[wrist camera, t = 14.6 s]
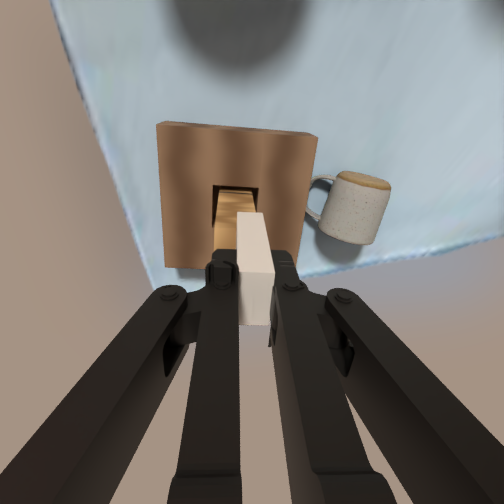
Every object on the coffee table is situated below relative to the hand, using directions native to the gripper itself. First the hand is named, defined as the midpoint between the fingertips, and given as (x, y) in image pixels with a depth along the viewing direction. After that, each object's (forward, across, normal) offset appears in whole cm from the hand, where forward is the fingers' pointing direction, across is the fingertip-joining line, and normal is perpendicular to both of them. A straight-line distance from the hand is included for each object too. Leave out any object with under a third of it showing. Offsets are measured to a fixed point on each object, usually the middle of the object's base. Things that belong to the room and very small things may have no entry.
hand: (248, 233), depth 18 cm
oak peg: (+23, -1, -6) cm, 24 cm away
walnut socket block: (+24, -1, -6) cm, 25 cm away
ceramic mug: (+25, +14, -5) cm, 29 cm away
